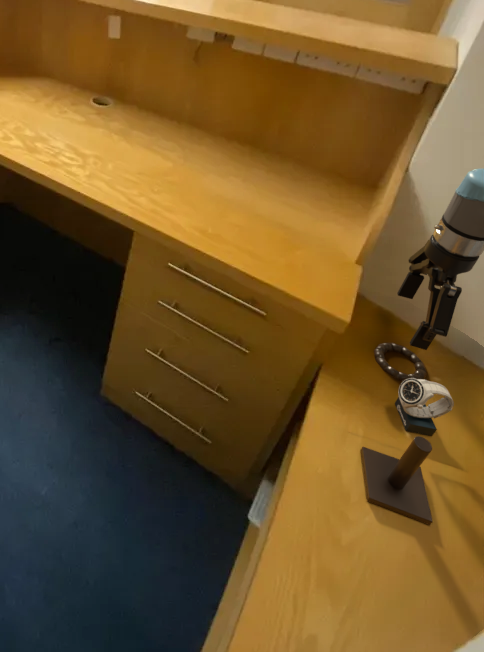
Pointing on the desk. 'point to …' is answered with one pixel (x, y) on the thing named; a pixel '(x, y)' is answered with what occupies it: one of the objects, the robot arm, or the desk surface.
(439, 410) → the watch
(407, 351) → the brown beaded bracelet ring
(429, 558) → the desk surface
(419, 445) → the stand
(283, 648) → the desk surface
